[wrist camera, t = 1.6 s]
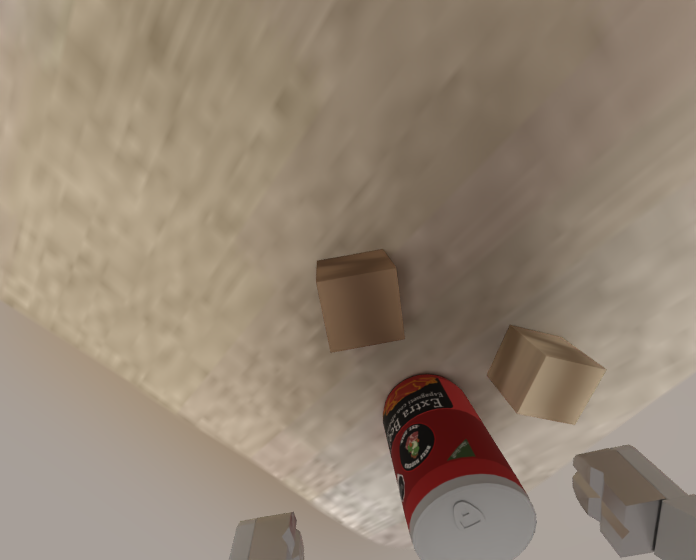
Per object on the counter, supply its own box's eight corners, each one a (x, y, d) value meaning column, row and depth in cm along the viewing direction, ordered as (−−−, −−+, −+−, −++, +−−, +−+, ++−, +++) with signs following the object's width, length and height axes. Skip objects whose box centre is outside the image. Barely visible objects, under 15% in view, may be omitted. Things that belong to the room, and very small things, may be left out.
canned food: (426, 354, 29) (484, 461, 19) (483, 406, 31) (564, 527, 21) (362, 411, 30) (383, 540, 20) (421, 457, 33) (468, 594, 22)
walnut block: (328, 320, 27) (330, 352, 23) (316, 260, 26) (316, 282, 21) (390, 308, 28) (405, 339, 23) (382, 248, 26) (396, 267, 21)
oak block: (486, 374, 30) (516, 413, 26) (509, 324, 29) (546, 356, 24) (536, 385, 31) (574, 424, 26) (561, 336, 30) (606, 369, 25)
